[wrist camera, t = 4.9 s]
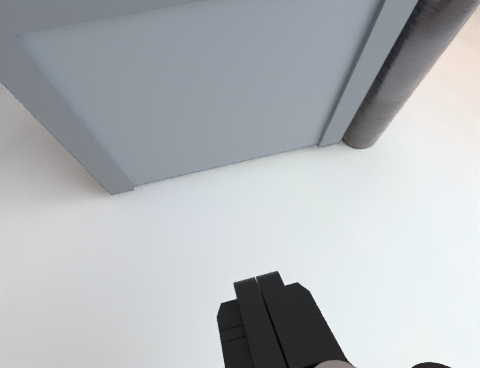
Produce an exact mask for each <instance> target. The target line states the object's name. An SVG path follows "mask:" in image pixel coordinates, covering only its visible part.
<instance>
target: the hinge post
mask: <svg viewBox="0 0 480 368" xmlns="http://www.w3.org/2000/svg"><path fill="white" fill-rule="evenodd" d="M479 4H480V0H418V2H417V4H416V5H415V7H414V9H413V11H412V13H411V14H410V16H409V18H408V20H407V22H406V23H405V25H404V27H403V29H402V31H401V32H400V34H399V36H398V38H397V40H396V41H395V43H394V45H393V47H392V49H391V50H390V52H389V54H388V56H387V58H386V59H385V61H384V63H383V65H382V67H381V68H380V70H379V72H378V74H377V75H376V77H375V79H374V81H373V83H372V84H371V86H370V88H369V90H368V92H367V93H366V95H365V97H364V99H363V101H362V102H361V104H360V106H359V108H358V110H357V111H356V113H355V115H354V117H353V119H352V120H351V122H350V124H349V126H348V128H347V129H346V131H345V133H344V135H343V137H342V139H343V141H344V142H345V143H346V144H348V145H349V146H351V147H353V148H357V149H366V148H369V147H371V146H372V145H373V144H374V143H375V142H376V141H377V140H378V138H379V137H380V136H381V134H382V133H383V132H384V130H385V129H386V128H387V126H388V125H389V124H390V122H391V121H392V120H393V118H394V117H395V116H396V114H397V113H398V112H399V110H400V109H401V108H402V106H403V105H404V104H405V102H406V101H407V100H408V98H409V97H410V96H411V94H412V93H413V92H414V90H415V89H416V88H417V87H418V85H419V84H420V83H421V81H422V80H423V79H424V77H425V76H426V75H427V73H428V72H429V71H430V69H431V68H432V67H433V65H434V64H435V63H436V61H437V60H438V59H439V57H440V56H441V55H442V53H443V52H444V51H445V49H446V48H447V47H448V45H449V44H450V43H451V41H452V40H453V39H454V37H455V36H456V35H457V33H458V32H459V31H460V29H461V28H462V27H463V26H464V24H465V23H466V22H467V20H468V19H469V18H470V16H471V15H472V14H473V12H474V11H475V10H476V8H477V7H478V6H479Z"/></svg>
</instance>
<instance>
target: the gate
mask: <svg viewBox="0 0 480 368" xmlns="http://www.w3.org/2000/svg"><path fill="white" fill-rule="evenodd" d="M417 2H418V0H0V82H1V83H2V84H3V85H4V86H5V87H6V88H7V89H8V90H9V91H10V92H11V93H12V94H13V95H14V96H15V97H16V98H17V99H18V100H19V101H20V102H21V103H22V104H23V105H24V106H25V107H26V108H27V110H28V111H29V112H30V113H31V114H32V115H33V116H34V117H35V118H36V119H37V120H38V121H39V122H40V123H41V124H42V125H43V126H44V127H45V128H46V129H47V130H48V131H49V132H50V133H51V134H52V135H53V136H54V137H55V138H56V139H57V140H58V141H59V142H60V143H61V144H62V145H63V146H64V147H65V148H66V149H67V150H68V151H69V152H70V153H71V154H72V155H73V156H74V157H75V158H76V160H77V161H78V162H79V163H80V164H81V165H82V166H83V167H84V168H85V169H86V170H87V171H88V172H89V173H90V174H91V175H92V176H93V177H94V178H95V179H96V180H97V181H98V182H99V183H100V184H101V185H102V186H103V187H104V188H105V189H106V190H107V191H108V192H109V193H110V194H111V195H114V194H119V193H123V192H127V191H132V190H134V186H136V185H141V184H145V183H149V182H154V181H158V180H162V179H167V178H171V177H176V176H180V175H184V174H189V173H193V172H198V171H202V170H206V169H211V168H215V167H219V166H224V165H228V164H233V163H237V162H241V161H246V160H250V159H255V158H259V157H263V156H268V155H272V154H276V153H281V152H285V151H290V150H294V149H298V148H303V147H307V146H312V145H316V144H318V147H324V146H328V145H332V144H337V143H339V142H340V140H341V138H342V137H343V135H344V133H345V131H346V129H347V128H348V126H349V124H350V122H351V120H352V119H353V117H354V115H355V113H356V111H357V110H358V108H359V106H360V104H361V102H362V101H363V99H364V97H365V95H366V93H367V92H368V90H369V88H370V86H371V84H372V83H373V81H374V79H375V77H376V75H377V74H378V72H379V70H380V68H381V67H382V65H383V63H384V61H385V59H386V58H387V56H388V54H389V52H390V50H391V49H392V47H393V45H394V43H395V41H396V40H397V38H398V36H399V34H400V32H401V31H402V29H403V27H404V25H405V23H406V22H407V20H408V18H409V16H410V14H411V13H412V11H413V9H414V7H415V5H416V4H417Z"/></svg>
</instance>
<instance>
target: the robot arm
mask: <svg viewBox="0 0 480 368" xmlns="http://www.w3.org/2000/svg"><path fill="white" fill-rule="evenodd" d="M256 280H257V282H256ZM233 284H234V288H235V293H236V297H237V299H235V300H231V301H228V302H224V303H221V305H220V308H219V311H218V315H217V322H218V328H219V333H220V340H221V345H222V352H223V358H224V364H225V368H356V367H354V366H353V365H352V364H351V363H350V362H349V361H348V360H347V358H346V357H345V355H344V353H343V352H342V350H341V348H340V346H339V344H338V343H337V341H336V339H335V337H334V335H333V333H332V332H331V330H330V328H329V326H328V324H327V322H326V321H325V319H324V317H323V316H322V313H321V311H320V310H319V308H318V306H317V305H316V302H315V300H314V299H313V297H312V295H311V293H310V291H308V290H307V289H306V288H304V287H303V286H302V285H300V284H299V283H298V282H297V283H293V284H290V285H286V286H285V285H284V283H283V281H282V279H281V277H280V274H279V272H278V271H275V272H271V273H268V274H264V275H260V276H256V279H255V277H253V278H249V279H246V280H242V281H238V282H234V283H233ZM412 368H450V367H448V366H445V365H443V364H439V363H433V362H424V363H420V364H417V365H415V366H413V367H412Z"/></svg>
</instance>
